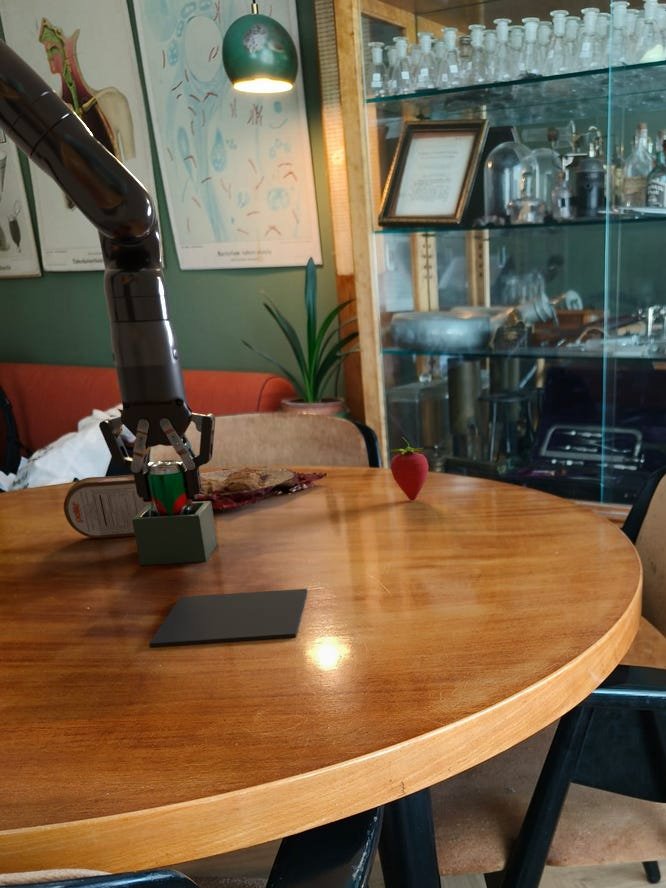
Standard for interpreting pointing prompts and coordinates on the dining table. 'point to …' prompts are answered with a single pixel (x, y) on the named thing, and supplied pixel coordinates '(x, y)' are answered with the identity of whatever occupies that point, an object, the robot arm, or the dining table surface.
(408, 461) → the strawberry
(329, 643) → the dining table surface
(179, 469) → the soda can
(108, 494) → the tin
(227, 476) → the plate with food
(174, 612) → the mat
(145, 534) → the box
